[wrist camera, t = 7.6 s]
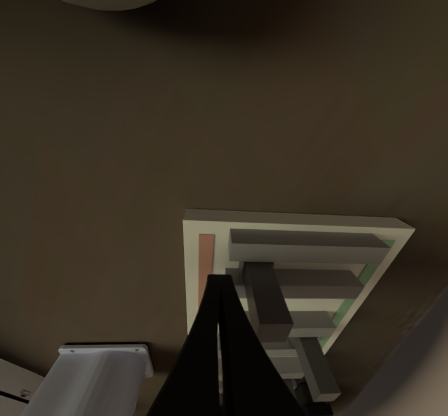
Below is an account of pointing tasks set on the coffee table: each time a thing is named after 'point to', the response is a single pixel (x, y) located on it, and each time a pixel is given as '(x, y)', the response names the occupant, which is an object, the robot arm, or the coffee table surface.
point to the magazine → (311, 402)
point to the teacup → (110, 4)
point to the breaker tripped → (265, 302)
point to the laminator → (16, 388)
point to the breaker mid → (316, 369)
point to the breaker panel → (293, 267)
